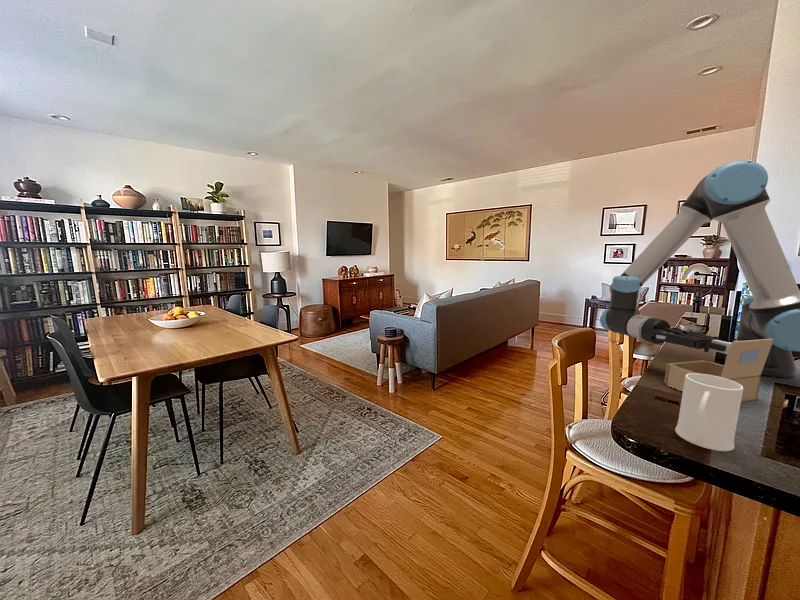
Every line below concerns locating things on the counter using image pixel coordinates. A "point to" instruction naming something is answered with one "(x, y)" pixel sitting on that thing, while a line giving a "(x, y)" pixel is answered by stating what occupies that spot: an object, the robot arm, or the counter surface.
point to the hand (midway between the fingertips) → (744, 352)
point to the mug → (709, 411)
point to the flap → (746, 358)
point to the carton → (679, 371)
